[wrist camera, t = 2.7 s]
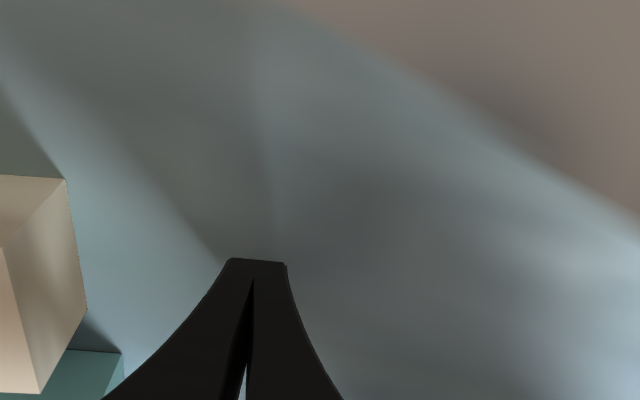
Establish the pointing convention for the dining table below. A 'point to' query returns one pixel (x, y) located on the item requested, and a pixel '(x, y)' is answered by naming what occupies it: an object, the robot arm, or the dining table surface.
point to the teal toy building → (79, 377)
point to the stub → (36, 281)
